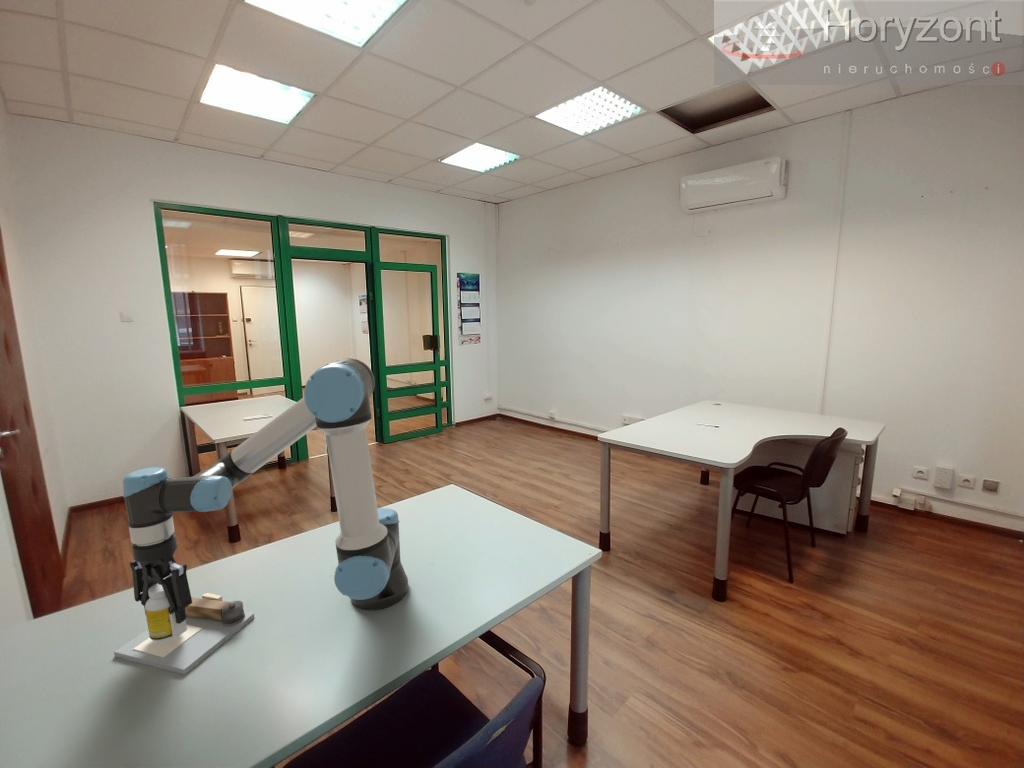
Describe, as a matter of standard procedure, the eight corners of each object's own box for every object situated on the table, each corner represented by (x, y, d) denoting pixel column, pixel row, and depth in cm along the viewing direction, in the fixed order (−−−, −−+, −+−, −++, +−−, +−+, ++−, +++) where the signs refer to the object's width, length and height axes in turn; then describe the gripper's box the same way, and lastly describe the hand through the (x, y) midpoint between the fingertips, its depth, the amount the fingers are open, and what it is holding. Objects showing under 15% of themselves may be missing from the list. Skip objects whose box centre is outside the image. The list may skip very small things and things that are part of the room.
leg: (248, 612, 109) (246, 598, 108) (234, 624, 105) (232, 609, 104) (186, 605, 112) (185, 590, 111) (171, 616, 108) (168, 601, 107)
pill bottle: (166, 645, 97) (159, 597, 95) (142, 640, 98) (134, 593, 96) (192, 624, 103) (186, 579, 101) (170, 620, 104) (163, 576, 103)
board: (254, 617, 110) (252, 601, 109) (184, 674, 92) (182, 656, 92) (191, 604, 115) (189, 589, 114) (114, 656, 97) (111, 638, 97)
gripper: (204, 535, 98) (216, 627, 102) (139, 525, 103) (152, 613, 107) (170, 552, 91) (185, 651, 95) (102, 540, 96) (118, 635, 99)
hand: (167, 631), depth 101 cm, fingers closed on pill bottle, 6 cm apart
